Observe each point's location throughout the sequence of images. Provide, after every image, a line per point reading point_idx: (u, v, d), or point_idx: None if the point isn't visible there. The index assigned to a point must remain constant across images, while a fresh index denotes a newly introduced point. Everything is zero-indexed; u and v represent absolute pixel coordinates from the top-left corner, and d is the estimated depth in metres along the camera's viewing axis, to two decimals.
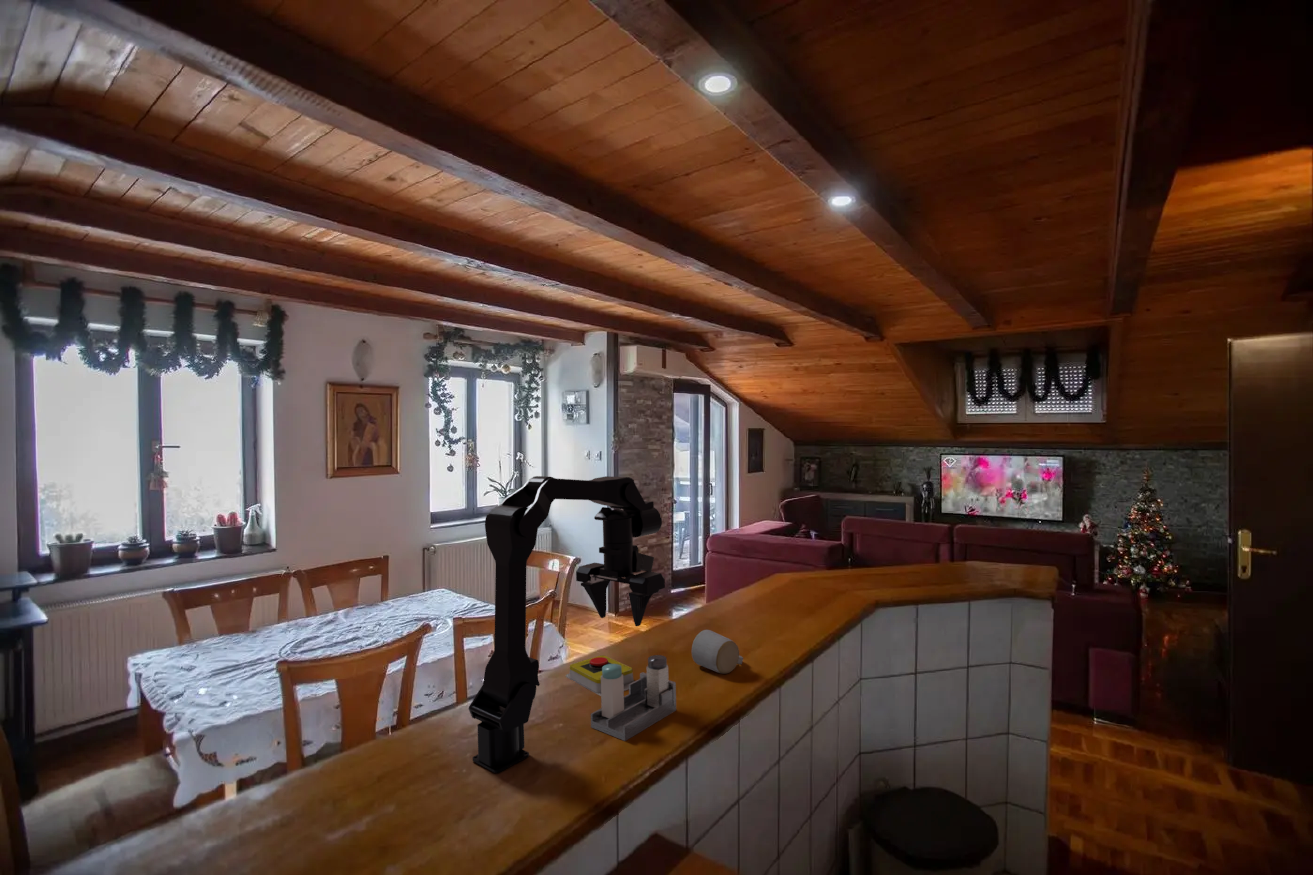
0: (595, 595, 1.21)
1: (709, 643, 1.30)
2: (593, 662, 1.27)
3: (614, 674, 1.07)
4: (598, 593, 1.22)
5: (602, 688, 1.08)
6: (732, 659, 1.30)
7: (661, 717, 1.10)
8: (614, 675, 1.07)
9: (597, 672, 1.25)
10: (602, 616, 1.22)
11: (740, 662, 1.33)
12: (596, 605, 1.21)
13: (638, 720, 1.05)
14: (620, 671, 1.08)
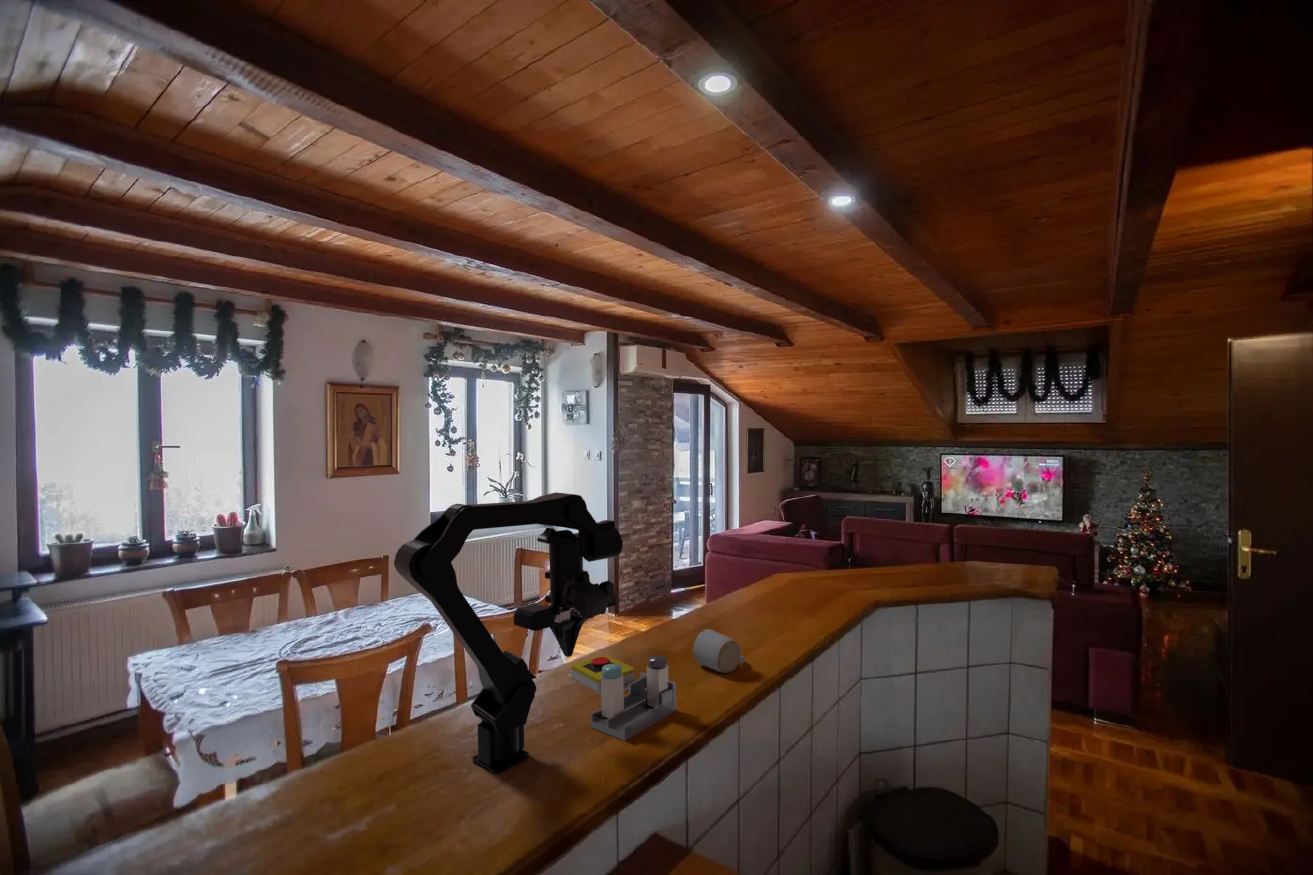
0: None
1: (710, 642, 1.30)
2: (595, 662, 1.28)
3: (614, 674, 1.07)
4: None
5: (602, 688, 1.08)
6: (734, 659, 1.30)
7: (661, 717, 1.10)
8: (614, 675, 1.07)
9: (599, 672, 1.25)
10: None
11: (742, 661, 1.33)
12: None
13: (638, 720, 1.05)
14: (620, 671, 1.08)
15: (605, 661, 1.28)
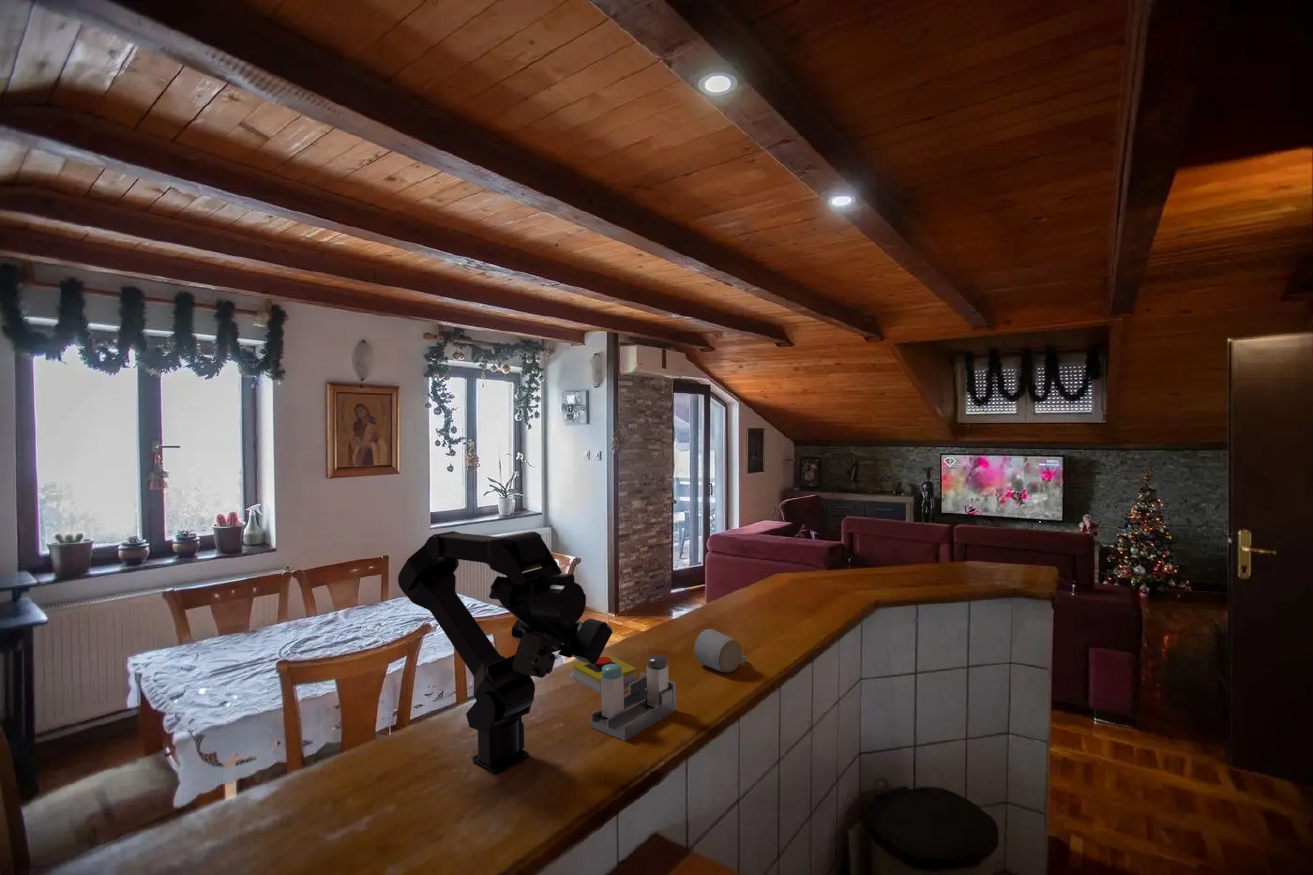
0: None
1: (711, 642, 1.31)
2: None
3: (614, 674, 1.07)
4: None
5: (602, 688, 1.08)
6: (735, 658, 1.30)
7: (661, 717, 1.10)
8: (614, 675, 1.07)
9: (600, 672, 1.25)
10: None
11: (743, 661, 1.33)
12: None
13: (638, 720, 1.05)
14: (620, 671, 1.08)
15: (607, 661, 1.28)
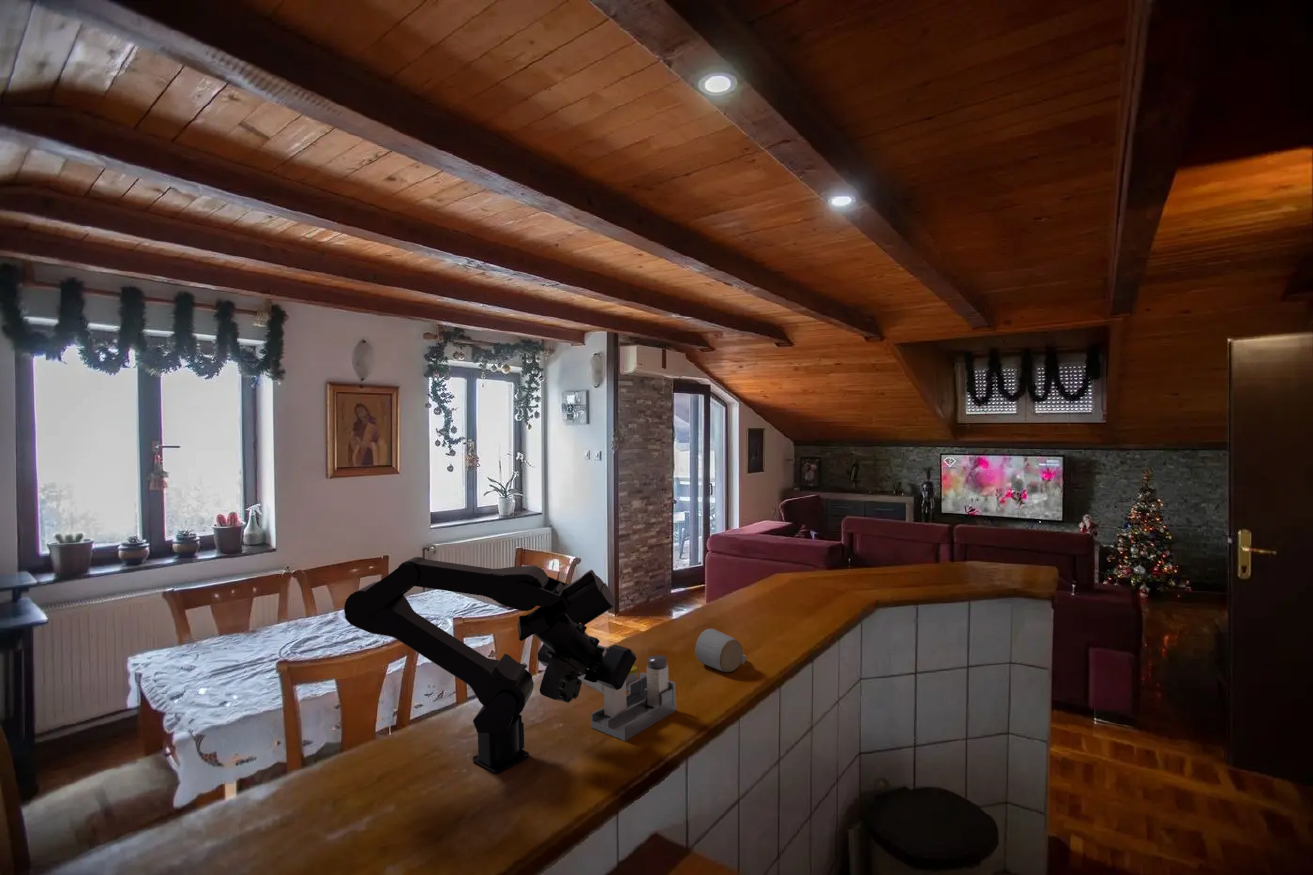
0: None
1: (712, 641, 1.31)
2: None
3: None
4: None
5: (605, 687, 1.09)
6: (736, 658, 1.30)
7: (661, 717, 1.10)
8: None
9: None
10: None
11: (744, 661, 1.34)
12: None
13: (638, 720, 1.05)
14: None
15: None
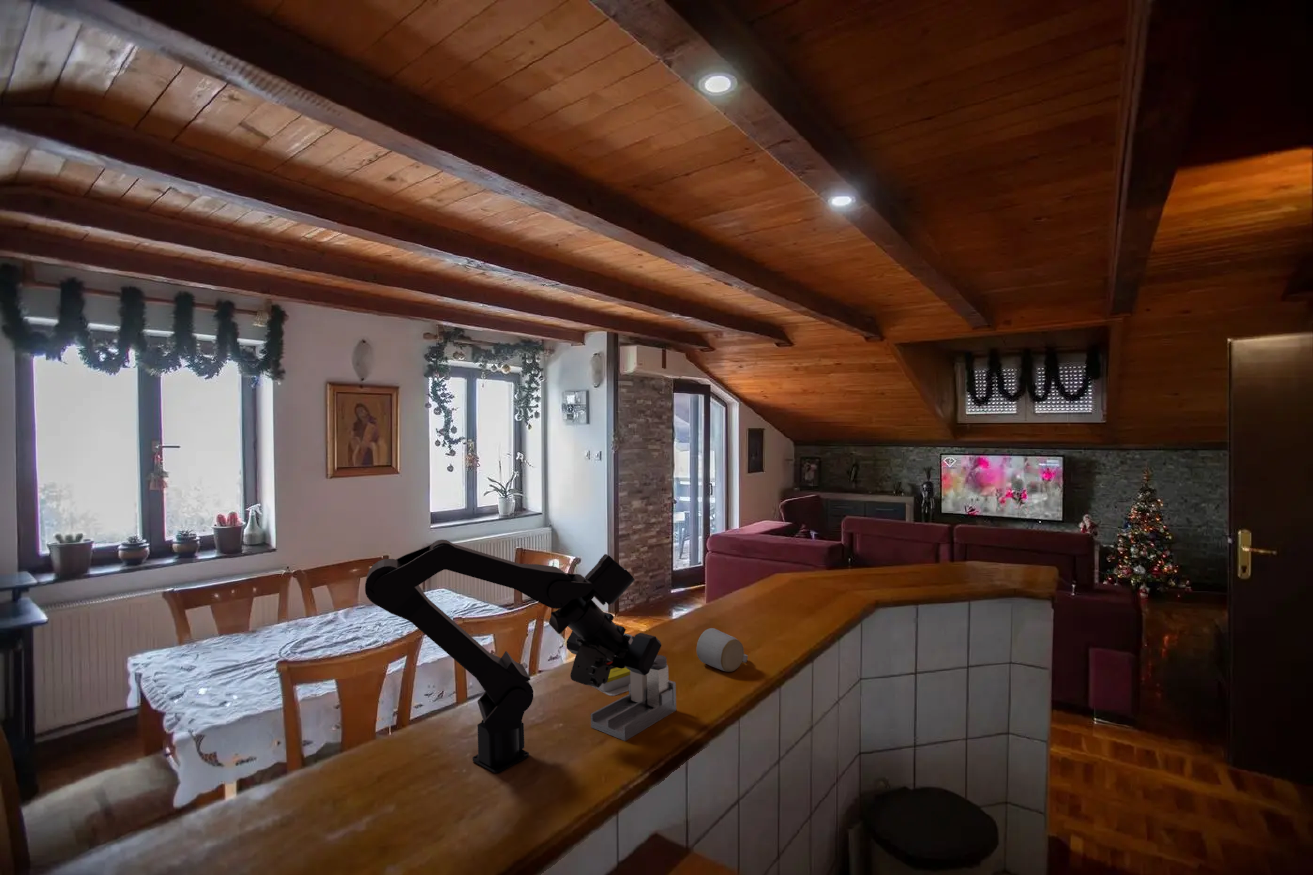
0: None
1: (713, 641, 1.31)
2: None
3: None
4: None
5: (631, 674, 1.14)
6: (737, 658, 1.31)
7: (661, 717, 1.10)
8: None
9: None
10: None
11: (745, 660, 1.34)
12: None
13: (638, 720, 1.05)
14: None
15: None
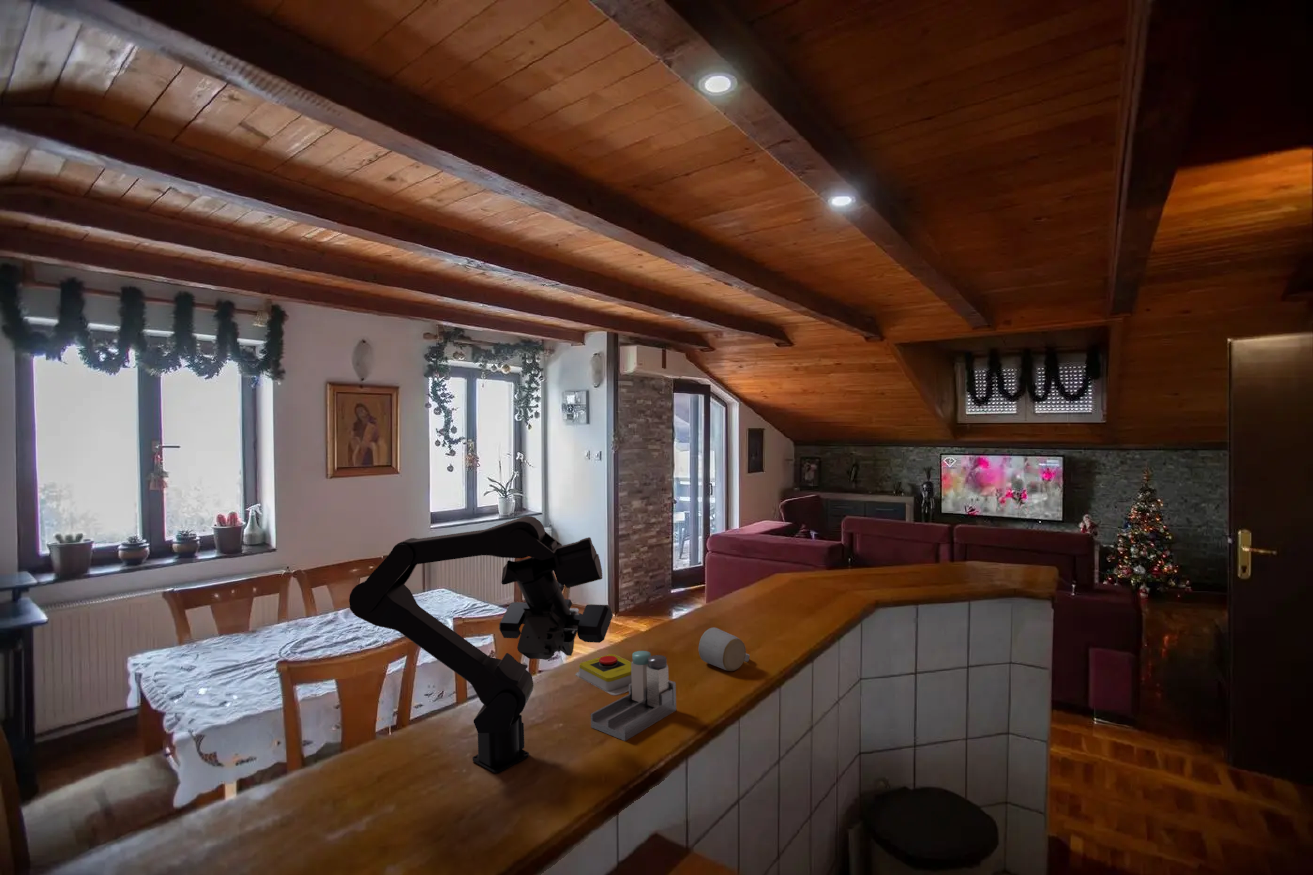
0: None
1: (715, 640, 1.31)
2: (603, 661, 1.28)
3: (644, 660, 1.13)
4: None
5: (632, 673, 1.14)
6: (739, 657, 1.31)
7: (661, 717, 1.10)
8: (644, 661, 1.13)
9: (607, 671, 1.26)
10: None
11: (747, 660, 1.34)
12: None
13: (638, 720, 1.05)
14: None
15: (613, 660, 1.28)
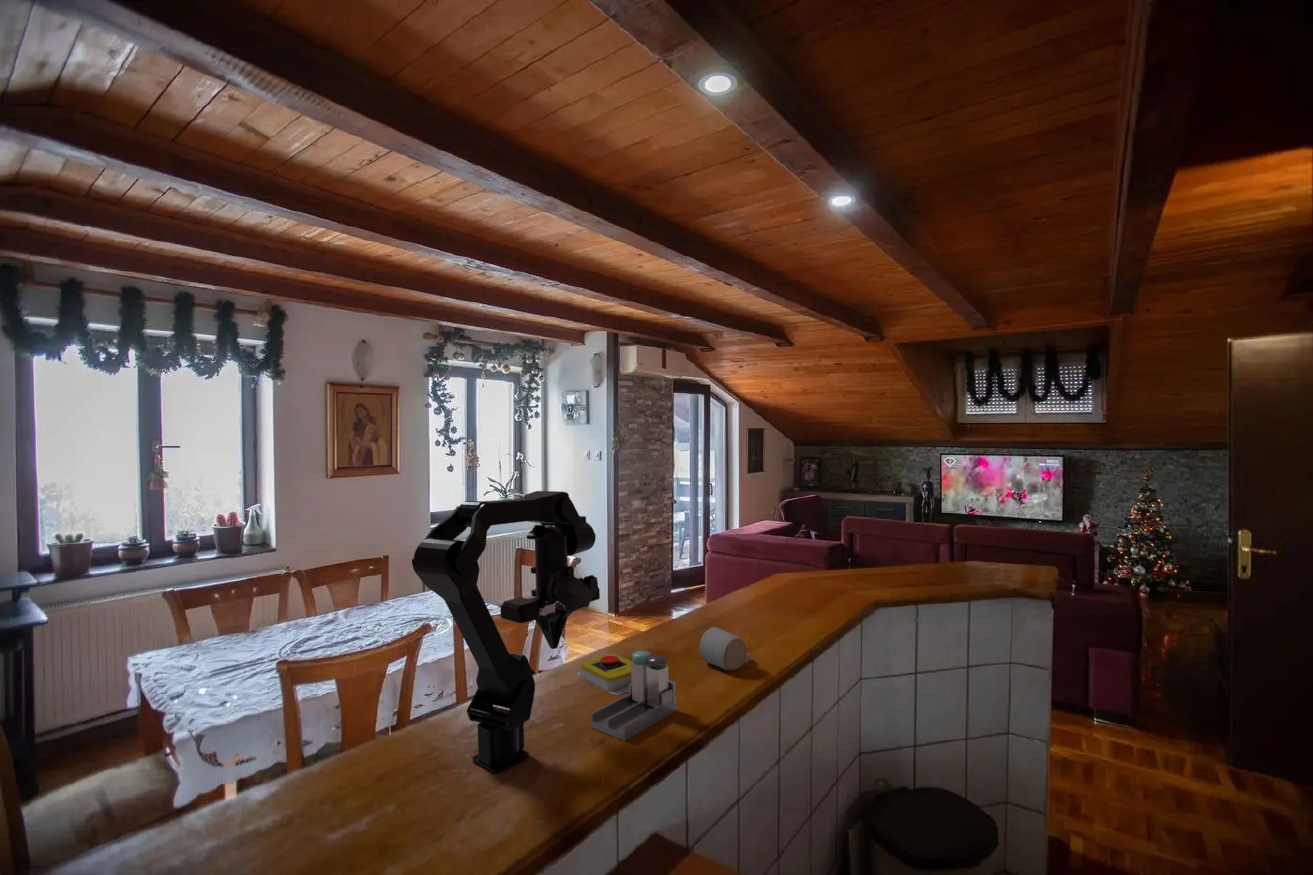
0: None
1: (716, 640, 1.32)
2: (604, 660, 1.28)
3: (644, 660, 1.13)
4: None
5: (632, 673, 1.14)
6: (739, 657, 1.31)
7: (661, 717, 1.10)
8: (644, 661, 1.13)
9: (608, 671, 1.26)
10: None
11: (747, 659, 1.34)
12: None
13: (638, 720, 1.05)
14: None
15: (614, 660, 1.28)
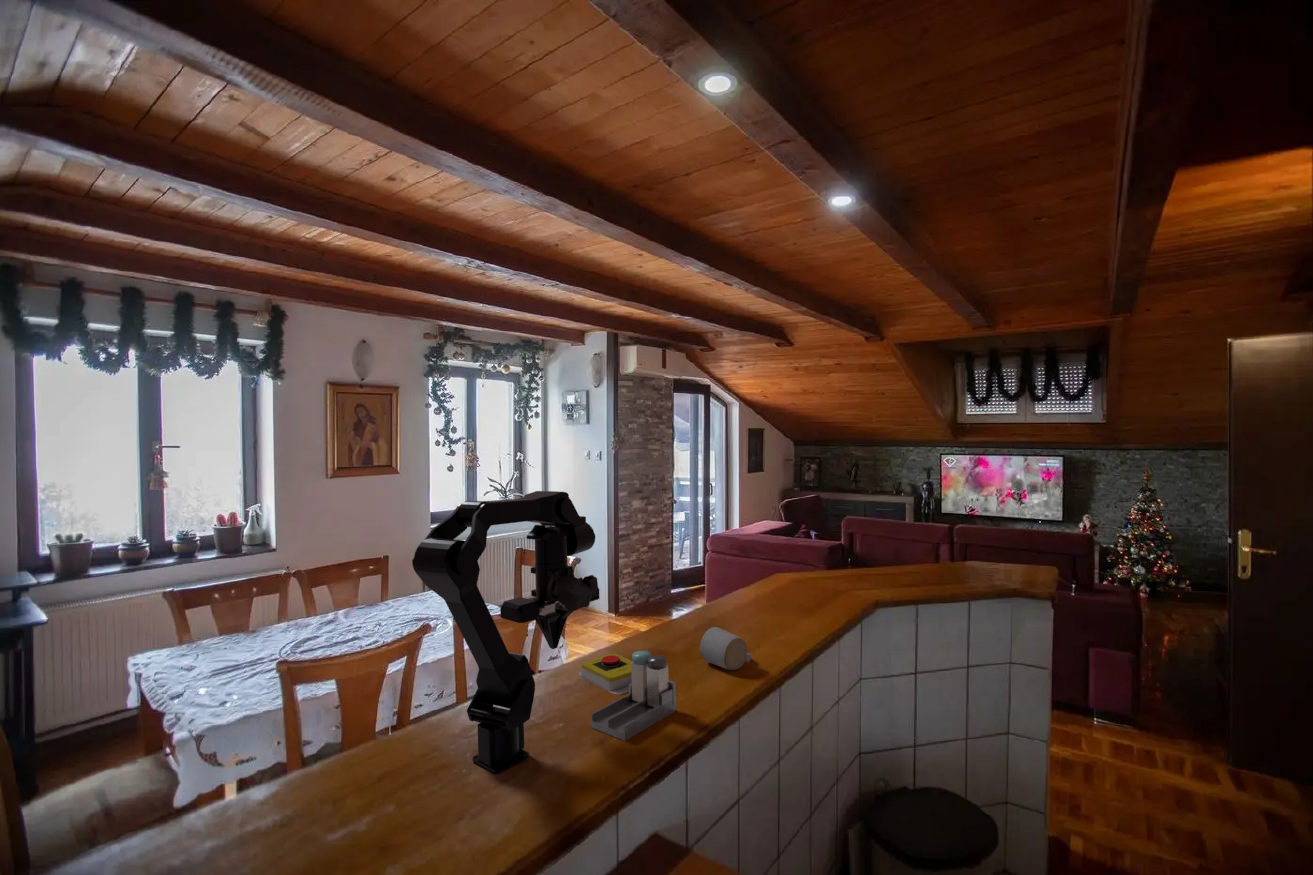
0: None
1: (717, 640, 1.32)
2: (605, 660, 1.28)
3: (644, 660, 1.13)
4: None
5: (632, 673, 1.14)
6: (740, 656, 1.31)
7: (661, 717, 1.10)
8: (644, 661, 1.13)
9: (609, 670, 1.26)
10: None
11: (748, 659, 1.34)
12: None
13: (638, 720, 1.05)
14: None
15: (615, 659, 1.28)
